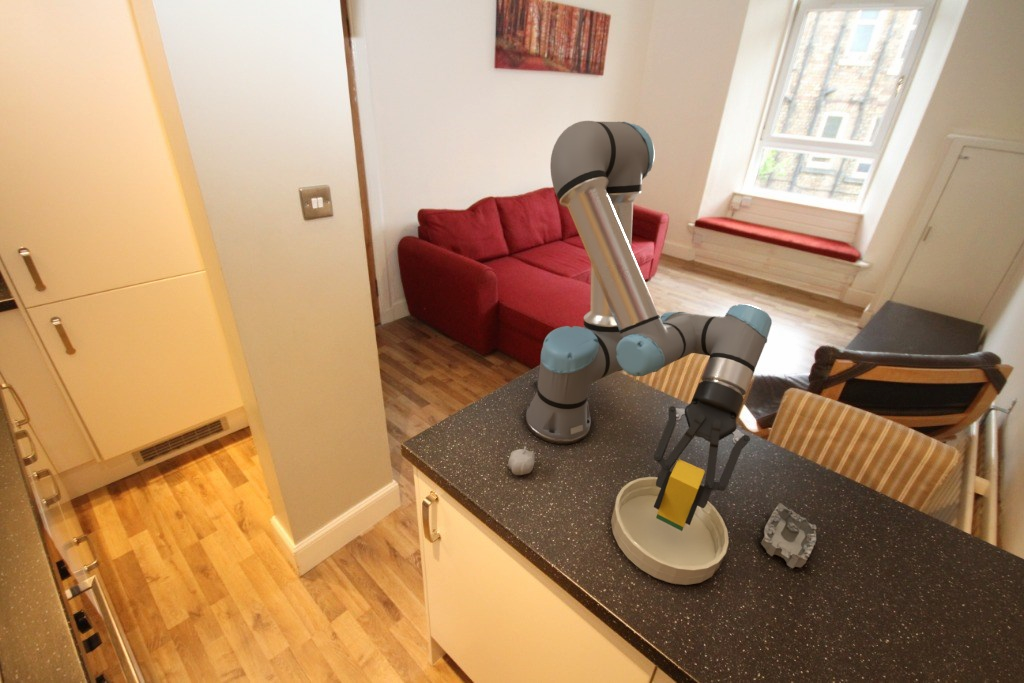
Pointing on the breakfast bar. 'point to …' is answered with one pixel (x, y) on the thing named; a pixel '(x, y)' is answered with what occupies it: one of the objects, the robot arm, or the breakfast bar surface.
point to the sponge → (680, 494)
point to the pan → (667, 536)
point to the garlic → (521, 461)
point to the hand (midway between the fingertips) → (671, 515)
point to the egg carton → (789, 536)
